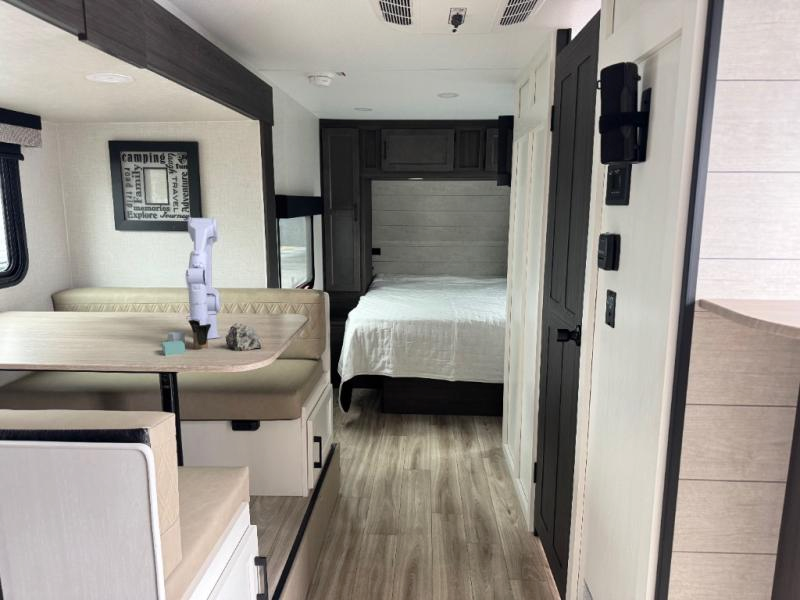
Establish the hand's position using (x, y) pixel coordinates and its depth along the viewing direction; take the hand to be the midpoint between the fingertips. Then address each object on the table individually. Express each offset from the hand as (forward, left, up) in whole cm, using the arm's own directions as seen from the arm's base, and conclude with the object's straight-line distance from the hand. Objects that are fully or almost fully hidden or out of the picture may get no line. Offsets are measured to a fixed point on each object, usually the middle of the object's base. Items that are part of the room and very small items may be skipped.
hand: (200, 342), depth 181 cm
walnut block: (0, 0, -2) cm, 2 cm away
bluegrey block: (-5, -7, -2) cm, 9 cm away
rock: (+7, +14, -2) cm, 16 cm away
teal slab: (+3, -9, -2) cm, 10 cm away
